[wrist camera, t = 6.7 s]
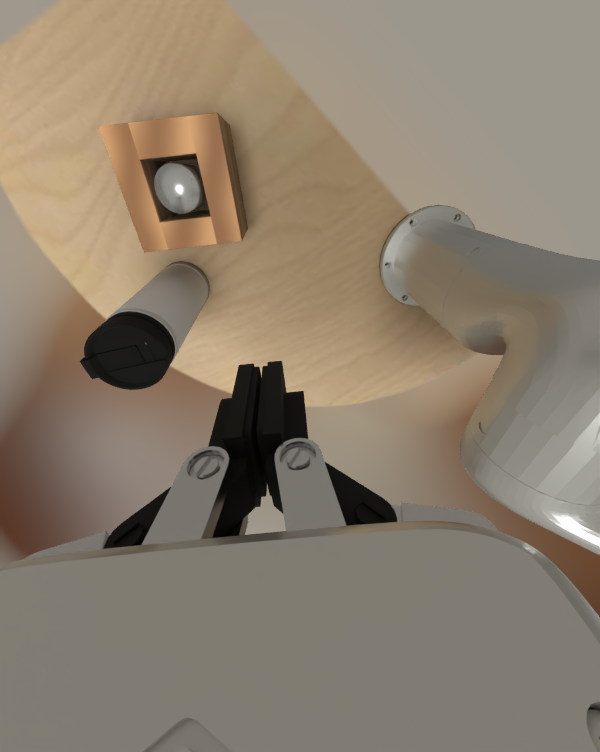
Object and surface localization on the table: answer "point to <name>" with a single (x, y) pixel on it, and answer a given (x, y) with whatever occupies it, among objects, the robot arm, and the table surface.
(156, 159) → the hole block
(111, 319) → the travel mug
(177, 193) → the peg
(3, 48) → the table surface
